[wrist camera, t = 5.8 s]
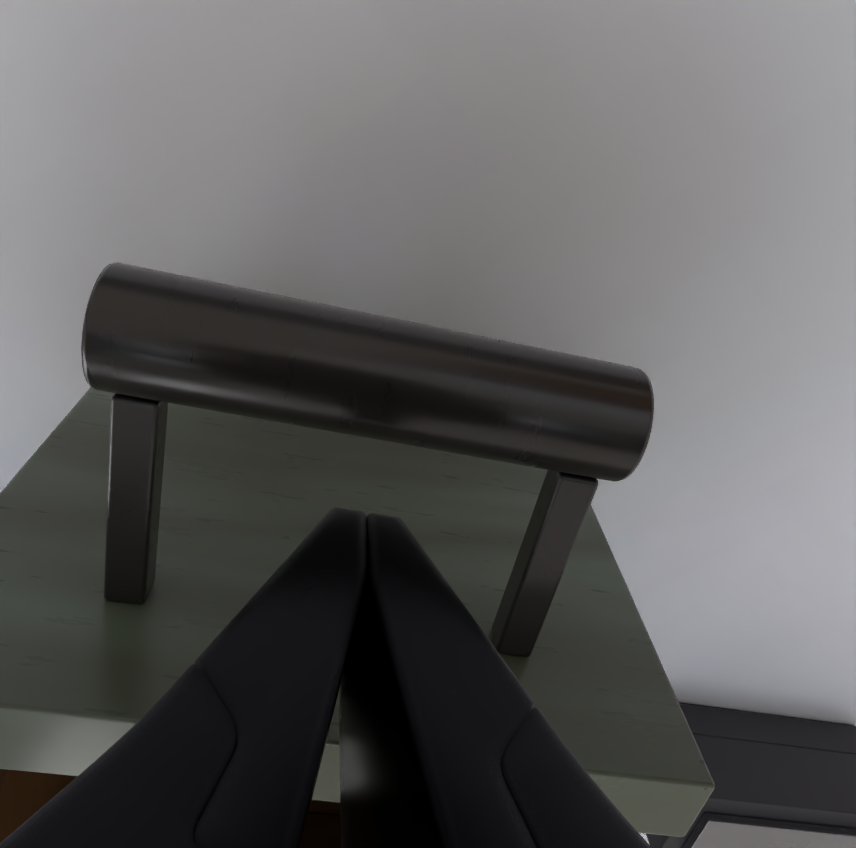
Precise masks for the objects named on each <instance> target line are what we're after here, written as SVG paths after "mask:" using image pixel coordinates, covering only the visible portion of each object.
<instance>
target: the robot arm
mask: <svg viewBox="0 0 856 848" xmlns="http://www.w3.org/2000/svg"><path fill="white" fill-rule="evenodd" d="M339 688H340V693H339V742H340V817H341V848H651V846H650V845H649V844H648V843H647V842H646V841H645V840H644V839H643V837H642V836H641V835H640V834H639V833H638V832H637V831H636V829H635V828H634V827H633V826H632V825H631V824H630V823H629V821H628V820H627V819H626V818H625V817H624V816H623V815H622V813H621V812H620V811H619V810H618V809H617V807H616V806H615V805H614V804H613V803H612V801H611V800H610V799H609V798H608V797H607V796H606V794H605V793H604V792H603V791H602V790H601V788H600V787H599V786H598V785H597V784H596V783H595V781H594V780H593V779H592V778H591V777H590V775H589V774H588V773H587V772H586V770H585V769H584V768H583V766H582V765H581V764H580V763H579V761H578V760H577V759H576V757H575V756H574V755H573V753H572V752H571V751H570V749H569V748H568V747H567V746H566V744H565V743H564V742H563V740H562V739H561V738H560V736H559V735H558V734H557V732H556V731H555V730H554V728H553V727H552V726H551V724H550V723H549V721H548V720H547V719H546V717H545V716H544V714H543V713H542V712H541V710H540V709H539V708H537V707H535V708H534V705H535V704H534V701H533V700H532V698H531V697H530V696H529V694H528V693H527V691H526V690H525V689H524V687H523V686H522V685H521V683H520V682H519V680H518V679H517V678H516V676H515V675H514V673H513V672H512V671H511V669H510V668H509V667H508V665H507V664H506V662H505V661H504V660H503V658H502V657H501V656H500V654H499V653H498V651H497V650H496V649H495V647H494V646H493V644H492V643H491V642H490V640H489V639H488V638H487V636H486V635H485V633H484V632H483V631H482V629H481V628H480V626H479V625H478V624H477V622H476V621H475V620H474V618H473V617H472V615H471V614H470V613H469V611H468V610H467V609H466V607H465V606H464V604H463V603H462V602H461V600H460V599H459V597H458V596H457V595H456V593H455V592H454V591H453V589H452V588H451V586H450V585H449V584H448V582H447V581H446V579H445V578H444V577H443V575H442V574H441V573H440V571H439V570H438V568H437V567H436V566H435V564H434V563H433V562H432V560H431V559H430V557H429V556H428V555H427V553H426V552H425V550H424V549H423V548H422V546H421V545H420V544H419V542H418V541H417V539H416V538H415V537H414V535H413V534H412V532H411V531H410V530H409V528H408V527H407V526H406V524H405V523H404V521H403V520H402V519H401V518H399V517H396V516H390V515H383V514H377V513H370V514H368V516H367V517H366V514H365V513H364V512H362V511H358V510H352V509H346V508H340V507H334V508H332V509H331V510H330V511H329V512H328V513H327V514H326V515H325V516H324V518H323V519H322V520H321V521H320V522H319V523H318V524H317V525H316V527H315V528H314V529H313V530H312V531H311V532H310V533H309V534H308V535H307V537H306V538H305V539H304V540H303V541H302V542H301V543H300V544H299V545H298V547H297V548H296V549H295V550H294V551H293V552H292V553H291V554H290V556H289V557H288V558H287V559H286V560H285V561H284V562H283V563H282V564H281V566H280V567H279V568H278V569H277V570H276V571H275V572H274V573H273V574H272V576H271V577H270V578H269V579H268V580H267V581H266V582H265V583H264V585H263V586H262V587H261V588H260V589H259V590H258V591H257V592H256V593H255V595H254V596H253V597H252V598H251V599H250V600H249V601H248V602H247V603H246V605H245V606H244V607H243V608H242V609H241V610H240V611H239V612H238V614H237V615H236V616H235V617H234V618H233V619H232V620H231V621H230V622H229V624H228V625H227V626H226V627H225V628H224V629H223V630H222V631H221V632H220V634H219V635H218V636H217V637H216V638H215V639H214V640H213V641H212V643H211V644H210V645H209V646H208V647H207V648H206V649H205V650H204V651H203V653H202V654H201V655H200V656H199V657H198V658H197V659H196V661H195V664H193V665H191V666H190V667H189V668H188V669H187V670H186V671H185V672H184V673H183V674H182V676H181V677H180V678H179V679H178V680H177V681H176V682H175V683H174V684H173V686H172V687H171V688H170V689H169V690H168V691H167V692H166V693H165V694H164V695H163V696H162V697H161V698H160V699H159V700H158V701H157V702H156V703H155V704H154V705H153V707H152V708H151V709H150V710H149V711H148V712H147V713H146V714H145V715H144V716H143V717H142V718H141V719H140V720H139V721H138V722H137V723H136V724H135V725H134V726H133V727H132V728H131V729H130V730H129V731H127V732H126V733H125V734H124V735H123V736H122V737H121V738H120V739H119V740H118V741H116V742H115V743H114V744H113V745H112V746H111V747H110V748H109V749H108V750H107V751H106V752H104V753H103V754H102V755H101V756H100V757H99V758H98V759H97V760H96V761H95V762H93V763H92V764H91V765H90V766H89V767H88V768H87V769H85V770H84V771H83V772H82V773H81V774H80V775H78V776H77V777H76V778H75V779H74V780H73V781H72V782H70V783H69V784H68V785H67V786H66V787H65V788H63V789H62V790H61V791H60V792H59V793H58V794H57V795H55V796H54V797H53V798H52V799H51V800H50V801H48V802H47V803H46V804H45V805H44V806H43V807H41V808H40V809H39V810H38V811H37V812H36V813H35V814H33V815H32V816H31V817H30V818H29V819H28V820H26V821H25V822H24V823H23V824H22V825H21V826H19V827H18V828H17V829H16V830H15V831H14V832H13V833H11V834H10V835H9V836H8V837H7V838H6V839H4V840H3V841H2V842H1V843H0V848H300V845H301V841H302V837H303V833H304V829H305V825H306V821H307V817H308V813H309V809H310V805H311V801H312V797H313V793H314V789H315V785H316V781H317V777H318V773H319V769H320V765H321V761H322V757H323V753H324V749H325V745H326V741H327V737H328V733H329V729H330V725H331V721H332V717H333V713H334V709H335V705H336V701H337V697H338V692H339Z"/></svg>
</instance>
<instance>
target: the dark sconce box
mask: <svg viewBox="0 0 856 848" xmlns="http://www.w3.org/2000/svg"><path fill="white" fill-rule="evenodd" d="M679 705H680V707H681V709H682V711H683V714H684V716H685V718H686V720H687V723H688V725H689V727H690V730H691V732H692V734H693V736H694V739H695V741H696V743H697V745H698V748H699V750H700V752H701V754H702V757H703V759H704V761H705V763H706V766H707V768H708V770H709V772H710V775H711V777H712V779H713V781H714V784H715V788H714V790H713V792H712V793H711V795H710V796H709V798H708V800H707V801H706V803H705V804H704V806H703V808H702V809H701V811H700V812H699V814H698V816H697V817H696V819H695V821H694V822H693V824H692V825H691V827H690V829H689V830H688V832H687V833H686V835H685V836H684V837H676V836H666V835H656V834H646V835H647V838H648V841H649V844H650V846H651V848H856V726H851V725H843V724H835V723H828V722H820V721H813V720H805V719H797V718H790V717H782V716H774V715H767V714H759V713H751V712H744V711H736V710H728V709H721V708H713V707H706V706H698V705H690V704H683V703H679Z"/></svg>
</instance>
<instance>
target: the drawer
mask: <svg viewBox="0 0 856 848" xmlns="http://www.w3.org/2000/svg"><path fill="white" fill-rule="evenodd" d="M81 351H82V365H83V372H84V376H85V379H86V381H87V383H88V384H89V385H90V386H91V388H90V389H89V390H88V391H87V393H86V394H85V395H84V396H83V397H82V398H81V400H80V401H79V402H78V403H77V404H76V405H75V407H74V408H73V409H72V410H71V411H70V412H69V414H68V415H67V416H66V417H65V418H64V419H63V421H62V422H61V423H60V424H59V425H58V426H57V428H56V429H55V430H54V431H53V432H52V433H51V435H50V436H49V437H48V438H47V439H46V440H45V442H44V443H43V444H42V445H41V446H40V447H39V449H38V450H37V451H36V452H35V453H34V454H33V456H32V457H31V458H30V459H29V460H28V461H27V463H26V464H25V465H24V466H23V467H22V468H21V470H20V471H19V472H18V473H17V474H16V475H15V477H14V478H13V479H12V480H11V481H10V482H9V484H8V485H7V486H6V487H5V488H4V489H3V491H2V492H1V493H0V843H1V842H2V841H3V840H4V839H6V838H7V837H8V836H9V835H10V834H11V833H13V832H14V831H15V830H16V829H17V828H18V827H19V826H21V825H22V824H23V823H24V822H25V821H26V820H28V819H29V818H30V817H31V816H32V815H33V814H35V813H36V812H37V811H38V810H39V809H40V808H41V807H43V806H44V805H45V804H46V803H47V802H48V801H50V800H51V799H52V798H53V797H54V796H55V795H57V794H58V793H59V792H60V791H61V790H62V789H63V788H65V787H66V786H67V785H68V784H69V783H70V782H72V781H73V780H74V779H75V778H76V777H77V776H78V775H80V774H81V773H82V772H83V771H84V770H85V769H87V768H88V767H89V766H90V765H91V764H92V763H93V762H95V761H96V760H97V759H98V758H99V757H100V756H101V755H102V754H103V753H104V752H106V751H107V750H108V749H109V748H110V747H111V746H112V745H113V744H114V743H115V742H116V741H118V740H119V739H120V738H121V737H122V736H123V735H124V734H125V733H126V732H127V731H129V730H130V729H131V728H132V727H133V726H134V725H135V724H136V723H137V722H138V721H139V720H140V719H141V718H142V717H143V716H144V715H145V714H146V713H147V712H148V711H149V710H150V709H151V708H152V707H153V705H154V704H155V703H156V702H157V701H158V700H159V699H160V698H161V697H162V696H163V695H164V694H165V693H166V692H167V691H168V690H169V689H170V688H171V687H172V686H173V684H174V683H175V682H176V681H177V680H178V679H179V678H180V677H181V676H182V674H183V673H184V672H185V671H186V670H187V669H188V668H189V667H190V666H191V665H193V664H195V661H196V659H197V658H198V657H199V656H200V655H201V654H202V653H203V651H204V650H205V649H206V648H207V647H208V646H209V645H210V644H211V643H212V641H213V640H214V639H215V638H216V637H217V636H218V635H219V634H220V632H221V631H222V630H223V629H224V628H225V627H226V626H227V625H228V624H229V622H230V621H231V620H232V619H233V618H234V617H235V616H236V615H237V614H238V612H239V611H240V610H241V609H242V608H243V607H244V606H245V605H246V603H247V602H248V601H249V600H250V599H251V598H252V597H253V596H254V595H255V593H256V592H257V591H258V590H259V589H260V588H261V587H262V586H263V585H264V583H265V582H266V581H267V580H268V579H269V578H270V577H271V576H272V574H273V573H274V572H275V571H276V570H277V569H278V568H279V567H280V566H281V564H282V563H283V562H284V561H285V560H286V559H287V558H288V557H289V556H290V554H291V553H292V552H293V551H294V550H295V549H296V548H297V547H298V545H299V544H300V543H301V542H302V541H303V540H304V539H305V538H306V537H307V535H308V534H309V533H310V532H311V531H312V530H313V529H314V528H315V527H316V525H317V524H318V523H319V522H320V521H321V520H322V519H323V518H324V516H325V515H326V514H327V513H328V512H329V511H330V510H331V509H332V508H334V507H340V508H346V509H352V510H358V511H362V512H364V513H365V514H366V517H367V516H368V514H370V513H377V514H383V515H390V516H396V517H399V518H401V519H402V520H403V521H404V523H405V524H406V526H407V527H408V528H409V530H410V531H411V532H412V534H413V535H414V537H415V538H416V539H417V541H418V542H419V544H420V545H421V546H422V548H423V549H424V550H425V552H426V553H427V555H428V556H429V557H430V559H431V560H432V562H433V563H434V564H435V566H436V567H437V568H438V570H439V571H440V573H441V574H442V575H443V577H444V578H445V579H446V581H447V582H448V584H449V585H450V586H451V588H452V589H453V591H454V592H455V593H456V595H457V596H458V597H459V599H460V600H461V602H462V603H463V604H464V606H465V607H466V609H467V610H468V611H469V613H470V614H471V615H472V617H473V618H474V620H475V621H476V622H477V624H478V625H479V626H480V628H481V629H482V631H483V632H484V633H485V635H486V636H487V638H488V639H489V640H490V642H491V643H492V644H493V646H494V647H495V649H496V650H497V651H498V653H499V654H500V656H501V657H502V658H503V660H504V661H505V662H506V664H507V665H508V667H509V668H510V669H511V671H512V672H513V673H514V675H515V676H516V678H517V679H518V680H519V682H520V683H521V685H522V686H523V687H524V689H525V690H526V691H527V693H528V694H529V696H530V697H531V698H532V700H533V701H534V704H535V705H534V708H535V707H537V708H539V709H540V710H541V712H542V713H543V714H544V716H545V717H546V719H547V720H548V721H549V723H550V724H551V726H552V727H553V728H554V730H555V731H556V732H557V734H558V735H559V736H560V738H561V739H562V740H563V742H564V743H565V744H566V746H567V747H568V748H569V749H570V751H571V752H572V753H573V755H574V756H575V757H576V759H577V760H578V761H579V763H580V764H581V765H582V766H583V768H584V769H585V770H586V772H587V773H588V774H589V775H590V777H591V778H592V779H593V780H594V781H595V783H596V784H597V785H598V786H599V787H600V788H601V790H602V791H603V792H604V793H605V794H606V796H607V797H608V798H609V799H610V800H611V801H612V803H613V804H614V805H615V806H616V807H617V809H618V810H619V811H620V812H621V813H622V815H623V816H624V817H625V818H626V819H627V820H628V821H629V823H630V824H631V825H632V826H633V827H634V828H635V829H636V831H637V832H638V833H646V834H656V835H666V836H676V837H684V836H685V835H686V833H687V832H688V830H689V829H690V827H691V825H692V824H693V822H694V821H695V819H696V817H697V816H698V814H699V812H700V811H701V809H702V808H703V806H704V804H705V803H706V801H707V800H708V798H709V796H710V795H711V793H712V792H713V790H714V788H715V784H714V781H713V779H712V777H711V775H710V772H709V770H708V768H707V766H706V763H705V761H704V759H703V757H702V754H701V752H700V750H699V748H698V745H697V743H696V741H695V739H694V736H693V734H692V732H691V730H690V727H689V725H688V723H687V720H686V718H685V716H684V714H683V711H682V709H681V707H680V705H679V702H678V700H677V698H676V696H675V693H674V691H673V689H672V687H671V684H670V682H669V680H668V678H667V675H666V673H665V671H664V669H663V666H662V664H661V662H660V660H659V657H658V655H657V653H656V651H655V648H654V646H653V644H652V641H651V639H650V637H649V635H648V632H647V630H646V628H645V626H644V623H643V621H642V619H641V617H640V614H639V612H638V610H637V608H636V605H635V603H634V601H633V599H632V596H631V594H630V592H629V590H628V587H627V585H626V583H625V581H624V578H623V576H622V574H621V571H620V569H619V567H618V565H617V562H616V560H615V558H614V556H613V553H612V551H611V549H610V547H609V544H608V542H607V540H606V538H605V535H604V533H603V531H602V529H601V526H600V524H599V522H598V520H597V517H596V515H595V513H594V511H593V508H592V506H591V502H592V499H593V497H594V494H595V491H596V489H597V486H598V480H597V479H603V480H608V481H620V480H623V479H625V478H627V477H628V476H629V475H631V474H632V472H633V471H634V470H635V469H636V467H637V466H638V464H639V462H640V461H641V459H642V456H643V454H644V452H645V449H646V447H647V444H648V440H649V437H650V433H651V428H652V422H653V412H654V398H653V390H652V386H651V382H650V380H649V378H648V376H647V375H646V374H645V373H644V372H643V371H642V370H640V369H639V368H635V367H631V366H626V365H621V364H616V363H611V362H606V361H601V360H596V359H591V358H586V357H581V356H576V355H571V354H566V353H561V352H557V351H552V350H547V349H542V348H537V347H532V346H527V345H522V344H517V343H512V342H507V341H502V340H497V339H492V338H487V337H483V336H478V335H473V334H468V333H463V332H458V331H453V330H448V329H443V328H438V327H433V326H428V325H423V324H418V323H413V322H409V321H404V320H399V319H394V318H389V317H384V316H379V315H374V314H369V313H364V312H359V311H354V310H349V309H344V308H339V307H335V306H330V305H325V304H320V303H315V302H310V301H305V300H300V299H295V298H290V297H285V296H280V295H275V294H270V293H265V292H261V291H256V290H251V289H246V288H241V287H236V286H231V285H226V284H221V283H216V282H211V281H206V280H201V279H196V278H191V277H187V276H182V275H177V274H172V273H167V272H162V271H157V270H152V269H147V268H142V267H137V266H132V265H127V264H122V263H113V264H109V265H107V266H106V267H105V268H104V269H103V271H102V272H101V273H100V275H99V277H98V279H97V281H96V283H95V285H94V287H93V290H92V292H91V295H90V298H89V301H88V305H87V309H86V313H85V318H84V324H83V331H82V346H81ZM339 693H340V688H339V692H338V697H337V701H336V705H335V709H334V713H333V717H332V721H331V725H330V729H329V733H328V737H327V741H326V745H325V749H324V753H323V757H322V761H321V765H320V769H319V773H318V777H317V781H316V785H315V789H314V793H313V797H312V801H311V805H310V809H309V813H308V817H307V821H306V825H305V829H304V833H303V837H302V841H301V845H300V848H341V817H340V742H339Z"/></svg>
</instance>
